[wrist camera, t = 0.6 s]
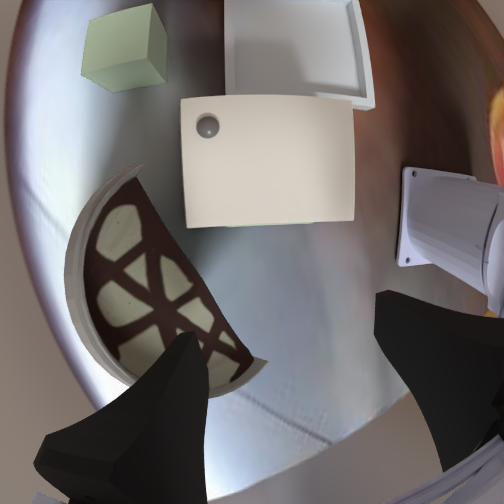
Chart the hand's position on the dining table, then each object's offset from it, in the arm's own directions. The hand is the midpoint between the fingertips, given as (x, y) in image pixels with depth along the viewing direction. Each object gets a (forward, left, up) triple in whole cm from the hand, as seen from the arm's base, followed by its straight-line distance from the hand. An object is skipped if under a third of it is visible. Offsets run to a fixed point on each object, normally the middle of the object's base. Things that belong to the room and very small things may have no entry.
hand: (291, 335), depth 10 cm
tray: (-3, -15, -10) cm, 19 cm away
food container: (+11, +3, -8) cm, 14 cm away
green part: (+8, -14, -10) cm, 19 cm away
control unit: (0, -6, -10) cm, 12 cm away
